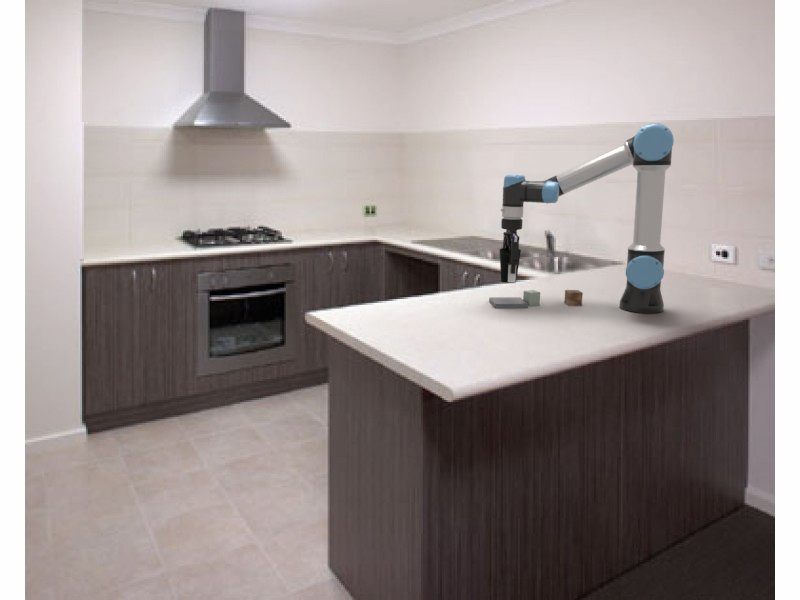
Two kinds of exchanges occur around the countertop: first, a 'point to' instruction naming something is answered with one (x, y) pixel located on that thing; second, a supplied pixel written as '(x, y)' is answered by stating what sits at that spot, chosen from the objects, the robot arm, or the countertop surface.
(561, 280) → the countertop surface
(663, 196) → the robot arm
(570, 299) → the walnut block
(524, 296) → the sage block
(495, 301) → the plate
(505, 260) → the cup
